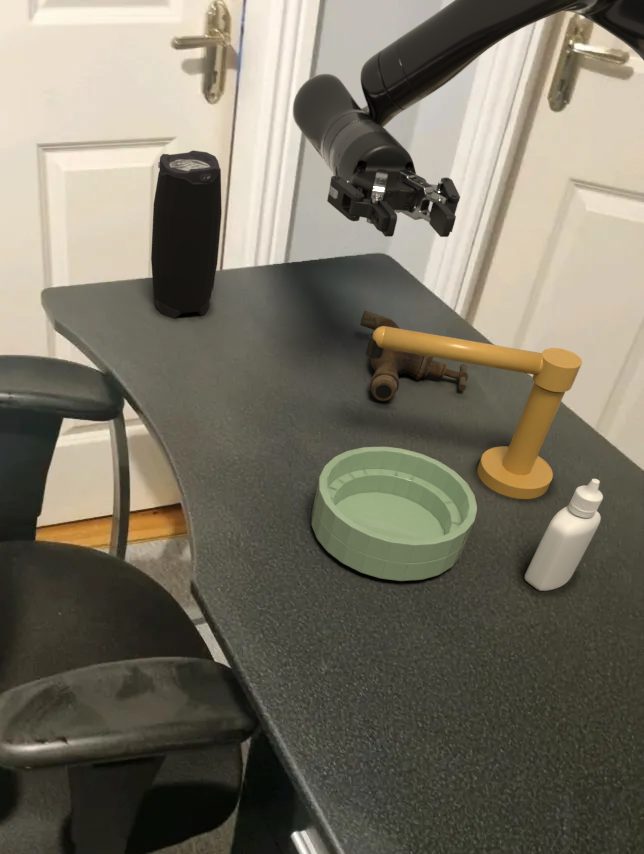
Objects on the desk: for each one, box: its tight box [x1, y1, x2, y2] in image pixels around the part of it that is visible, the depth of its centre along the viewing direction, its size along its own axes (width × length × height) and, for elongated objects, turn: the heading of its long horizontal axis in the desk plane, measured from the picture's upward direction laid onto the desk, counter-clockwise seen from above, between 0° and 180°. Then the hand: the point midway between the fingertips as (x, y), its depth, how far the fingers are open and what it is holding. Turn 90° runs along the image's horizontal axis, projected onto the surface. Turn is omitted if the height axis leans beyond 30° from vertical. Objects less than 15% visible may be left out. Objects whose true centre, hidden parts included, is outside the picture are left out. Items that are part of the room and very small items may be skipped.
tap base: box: [476, 382, 566, 500], centre depth 93 cm, size 8×8×12 cm
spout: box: [365, 326, 583, 393], centre depth 88 cm, size 21×4×3 cm, turn 77°
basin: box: [311, 446, 478, 582], centre depth 86 cm, size 16×16×6 cm
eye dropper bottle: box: [523, 478, 604, 592], centre depth 81 cm, size 4×6×12 cm
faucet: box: [359, 310, 469, 402], centre depth 110 cm, size 5×17×15 cm
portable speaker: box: [150, 149, 223, 319], centre depth 114 cm, size 9×9×20 cm
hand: (420, 226), depth 85 cm, fingers open, 5 cm apart
